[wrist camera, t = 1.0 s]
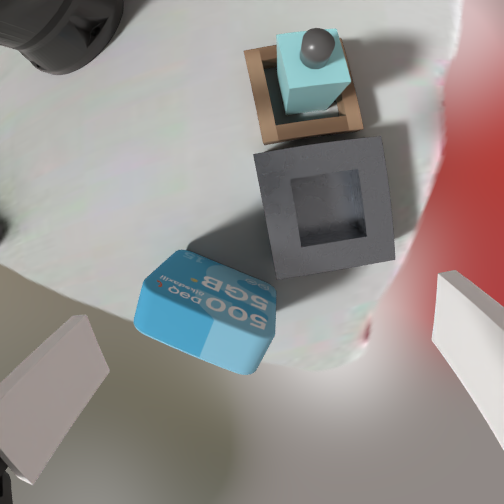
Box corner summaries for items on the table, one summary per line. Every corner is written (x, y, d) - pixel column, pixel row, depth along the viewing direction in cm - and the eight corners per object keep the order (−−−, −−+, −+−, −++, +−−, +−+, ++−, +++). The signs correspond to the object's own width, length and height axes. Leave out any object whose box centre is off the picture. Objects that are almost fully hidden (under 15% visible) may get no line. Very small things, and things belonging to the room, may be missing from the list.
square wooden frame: (246, 60, 29) (243, 50, 26) (336, 47, 28) (341, 38, 25) (264, 145, 32) (263, 143, 29) (356, 131, 30) (363, 128, 27)
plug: (277, 77, 29) (275, 17, 15) (317, 72, 29) (343, 11, 14) (285, 115, 30) (291, 77, 16) (326, 109, 30) (361, 70, 16)
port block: (257, 156, 32) (253, 154, 27) (366, 139, 30) (381, 136, 26) (277, 263, 35) (276, 279, 30) (380, 246, 33) (395, 259, 29)
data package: (277, 286, 36) (276, 341, 24) (262, 317, 37) (254, 380, 26) (180, 246, 35) (137, 284, 24) (169, 279, 37) (127, 327, 25)
